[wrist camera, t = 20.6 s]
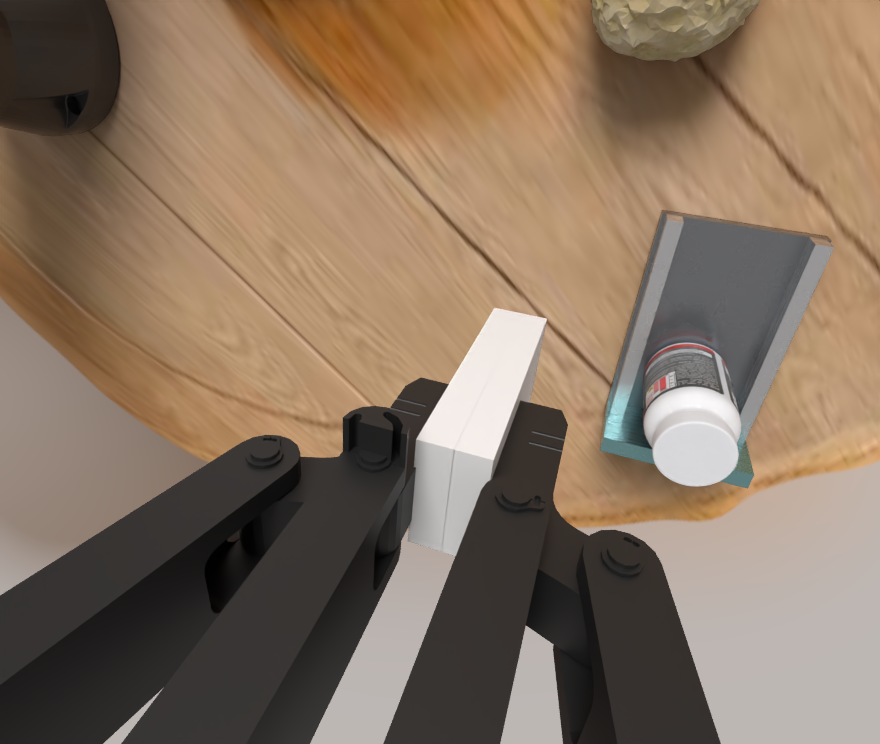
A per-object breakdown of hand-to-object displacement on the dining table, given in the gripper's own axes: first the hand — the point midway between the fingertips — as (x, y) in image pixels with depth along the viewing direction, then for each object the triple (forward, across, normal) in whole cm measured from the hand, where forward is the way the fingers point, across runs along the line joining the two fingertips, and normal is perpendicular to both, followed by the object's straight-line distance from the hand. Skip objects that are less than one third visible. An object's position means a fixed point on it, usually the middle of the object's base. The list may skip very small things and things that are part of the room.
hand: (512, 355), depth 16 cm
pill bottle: (+26, +10, -12) cm, 30 cm away
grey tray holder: (+26, +10, -9) cm, 30 cm away
